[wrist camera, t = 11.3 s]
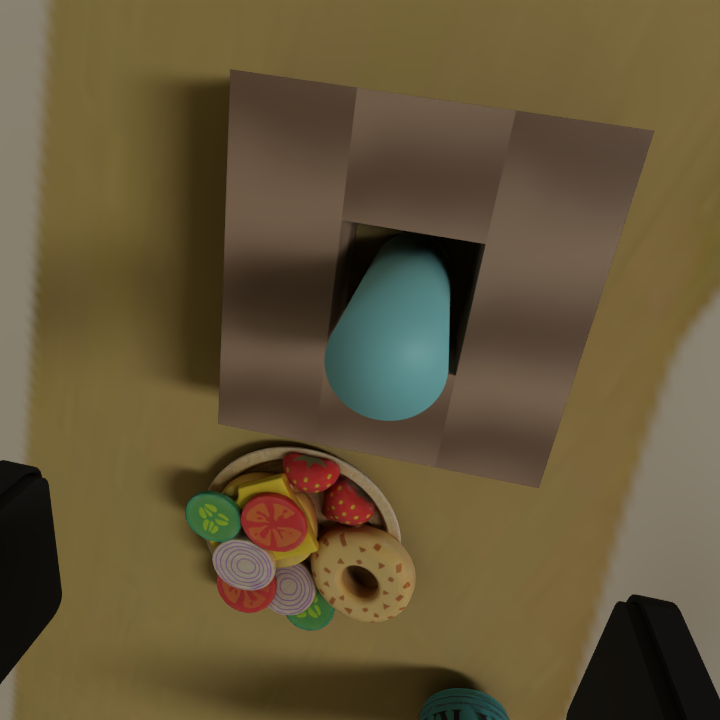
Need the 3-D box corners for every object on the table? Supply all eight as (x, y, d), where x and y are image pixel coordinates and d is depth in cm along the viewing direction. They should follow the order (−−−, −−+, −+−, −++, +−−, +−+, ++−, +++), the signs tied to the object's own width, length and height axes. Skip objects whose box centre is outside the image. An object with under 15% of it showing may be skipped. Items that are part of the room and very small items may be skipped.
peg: (378, 226, 28) (331, 295, 18) (457, 239, 28) (459, 318, 17) (367, 302, 30) (318, 408, 19) (442, 315, 30) (435, 431, 19)
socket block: (268, 77, 26) (230, 69, 22) (618, 128, 25) (654, 130, 21) (250, 381, 33) (218, 423, 29) (526, 434, 32) (538, 487, 27)
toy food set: (434, 583, 37) (432, 623, 34) (260, 618, 41) (245, 656, 38) (355, 412, 33) (345, 441, 30) (170, 468, 37) (146, 499, 34)
